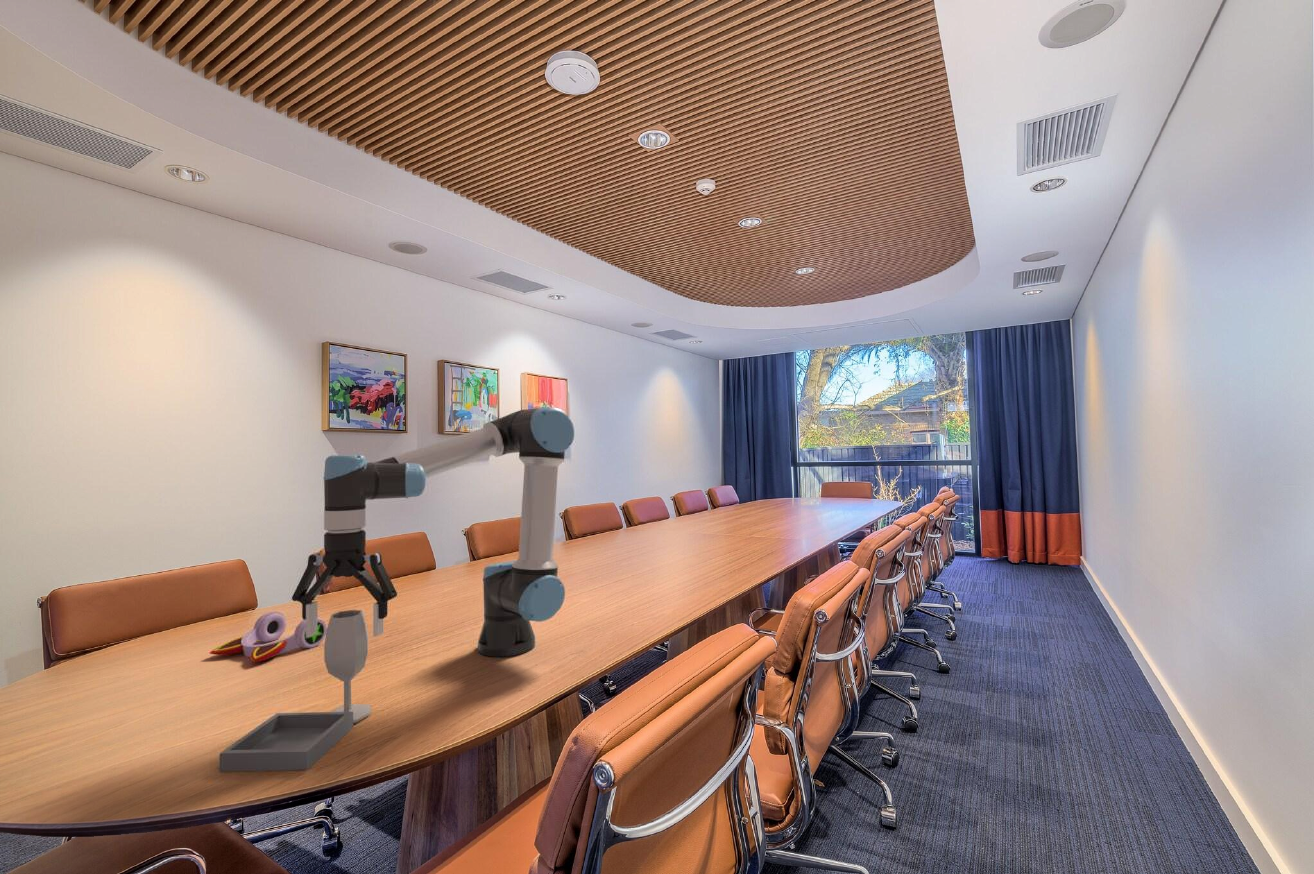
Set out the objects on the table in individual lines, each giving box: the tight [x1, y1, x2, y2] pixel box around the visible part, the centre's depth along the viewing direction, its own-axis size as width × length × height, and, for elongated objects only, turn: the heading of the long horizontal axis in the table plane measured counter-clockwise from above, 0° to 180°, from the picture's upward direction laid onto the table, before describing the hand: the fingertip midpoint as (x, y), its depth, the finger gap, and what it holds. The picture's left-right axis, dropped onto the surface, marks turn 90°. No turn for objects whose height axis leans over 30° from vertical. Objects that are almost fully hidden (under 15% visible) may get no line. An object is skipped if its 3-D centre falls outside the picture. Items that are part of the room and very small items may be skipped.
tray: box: [218, 711, 354, 772], centre depth 107 cm, size 15×15×3 cm
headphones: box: [209, 611, 327, 662], centre depth 161 cm, size 20×10×20 cm
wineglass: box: [323, 609, 372, 724], centre depth 119 cm, size 9×9×21 cm
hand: (345, 635), depth 119 cm, fingers open, 13 cm apart
